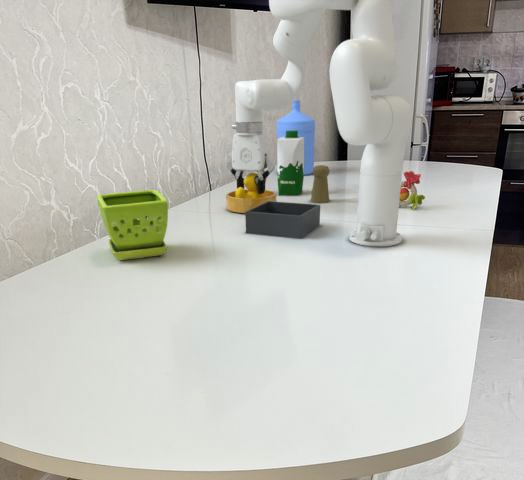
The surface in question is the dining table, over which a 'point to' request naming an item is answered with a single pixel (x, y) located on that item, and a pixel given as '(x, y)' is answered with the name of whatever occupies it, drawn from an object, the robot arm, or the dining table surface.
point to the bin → (282, 219)
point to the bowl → (247, 201)
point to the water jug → (300, 132)
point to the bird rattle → (405, 193)
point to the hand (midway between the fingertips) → (251, 192)
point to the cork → (320, 184)
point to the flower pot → (135, 223)
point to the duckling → (250, 187)
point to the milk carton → (290, 163)
